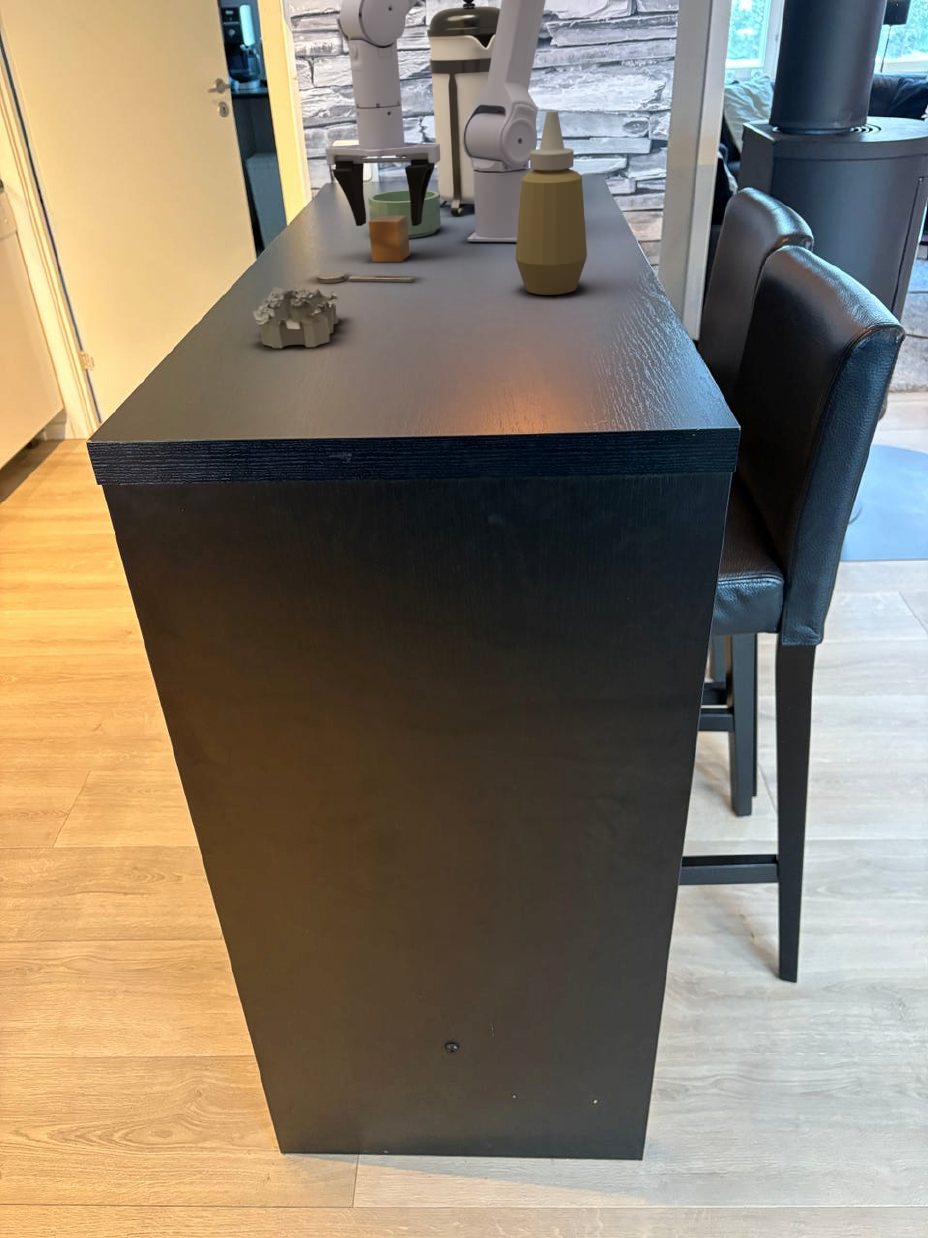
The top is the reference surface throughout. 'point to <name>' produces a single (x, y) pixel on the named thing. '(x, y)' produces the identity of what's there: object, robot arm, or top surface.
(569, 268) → the squeeze bottle
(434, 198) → the bowl
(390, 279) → the spoon
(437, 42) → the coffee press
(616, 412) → the top surface
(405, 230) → the block
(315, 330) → the grey succulent planter
